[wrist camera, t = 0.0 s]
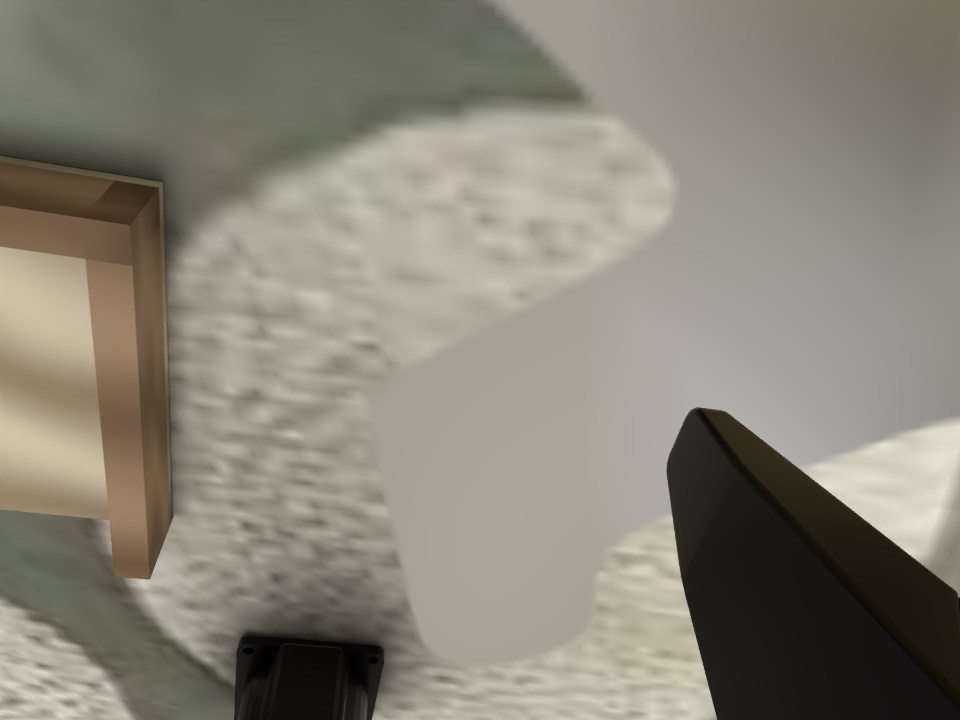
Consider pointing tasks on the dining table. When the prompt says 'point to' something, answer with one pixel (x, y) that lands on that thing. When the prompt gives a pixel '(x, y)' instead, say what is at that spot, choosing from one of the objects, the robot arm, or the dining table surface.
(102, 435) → the arena
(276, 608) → the dining table surface
